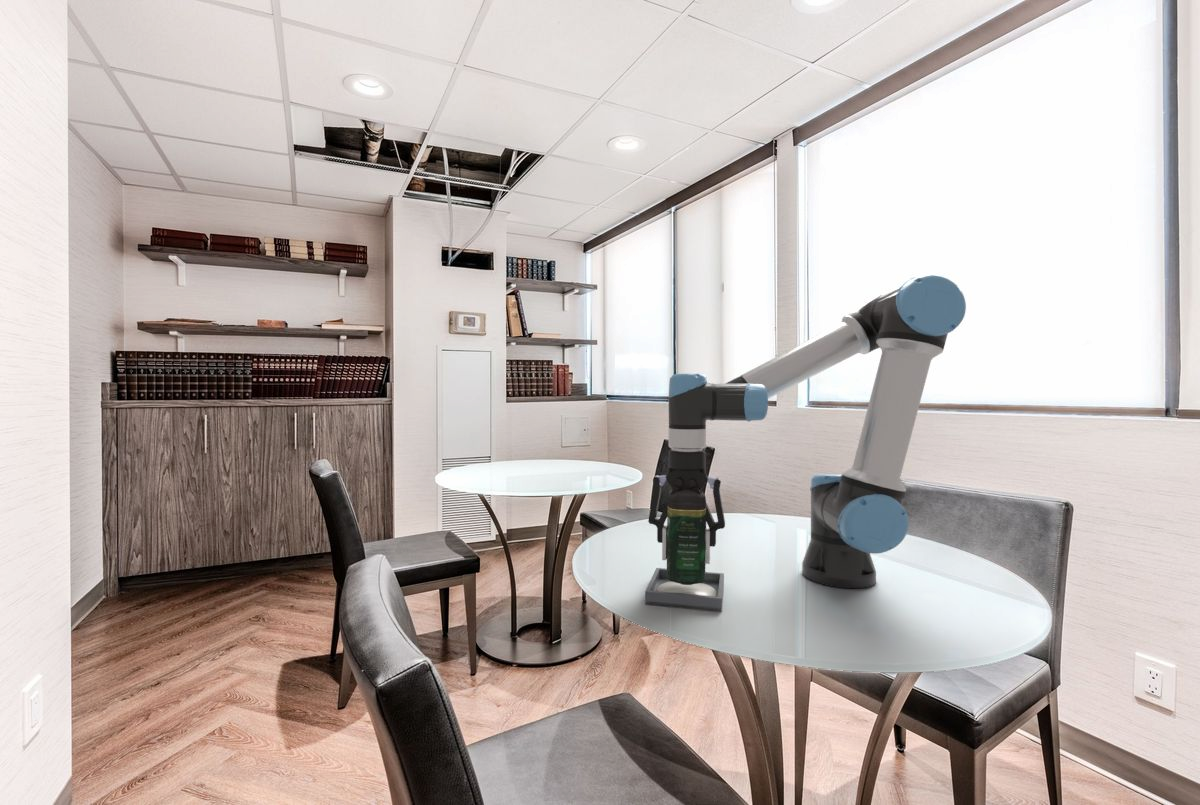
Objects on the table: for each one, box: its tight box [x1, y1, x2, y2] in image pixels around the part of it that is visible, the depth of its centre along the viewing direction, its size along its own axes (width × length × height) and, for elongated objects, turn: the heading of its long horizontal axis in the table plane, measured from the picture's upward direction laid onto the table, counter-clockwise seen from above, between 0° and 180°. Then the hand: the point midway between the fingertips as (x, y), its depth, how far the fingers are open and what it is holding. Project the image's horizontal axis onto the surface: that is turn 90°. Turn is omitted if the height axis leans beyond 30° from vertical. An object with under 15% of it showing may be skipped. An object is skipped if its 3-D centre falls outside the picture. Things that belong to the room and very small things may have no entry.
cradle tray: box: [644, 567, 725, 613], centre depth 109 cm, size 15×15×2 cm
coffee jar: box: [666, 489, 707, 585], centre depth 109 cm, size 10×8×19 cm
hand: (686, 559), depth 109 cm, fingers closed on coffee jar, 8 cm apart
